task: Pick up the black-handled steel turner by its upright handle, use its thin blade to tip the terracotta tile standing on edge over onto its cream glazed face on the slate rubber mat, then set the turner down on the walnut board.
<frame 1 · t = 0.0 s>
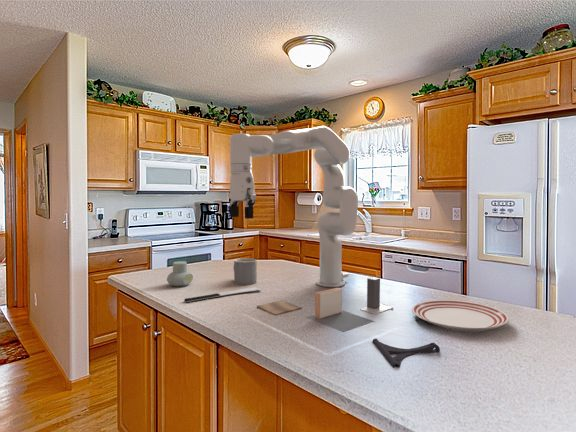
hand: (241, 217, 132), 31 cm above the countertop, tool pointing down, fingers open, 9 cm apart
board: (278, 309, 127), on the countertop
dinner plate: (457, 322, 116), on the countertop
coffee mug: (243, 281, 168), on the countertop
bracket: (410, 356, 93), on the countertop
tile: (328, 314, 120), point 1 cm above the countertop, touching mat
mat: (339, 320, 116), on the countertop
air freshener: (180, 285, 161), on the countertop
turner: (376, 311, 126), on the countertop
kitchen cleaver: (222, 296, 146), on the countertop
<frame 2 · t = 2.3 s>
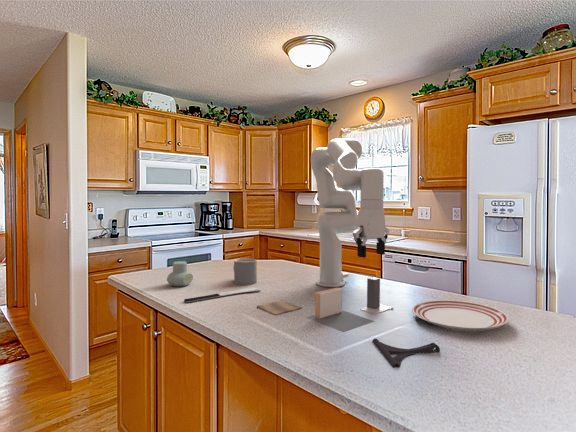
hand: (371, 255, 126), 19 cm above the countertop, tool pointing down, fingers open, 9 cm apart
nothing on the countertop moved.
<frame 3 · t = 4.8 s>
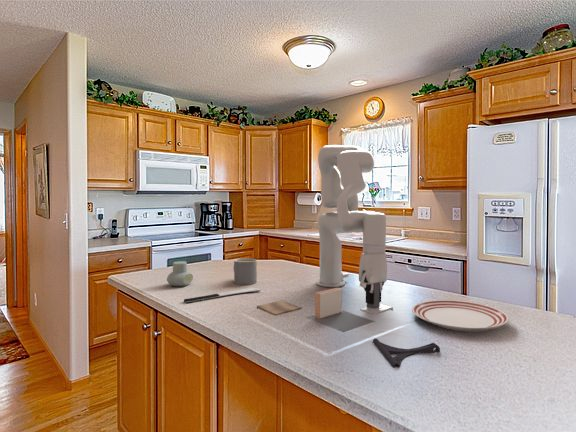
hand: (373, 302, 127), 3 cm above the countertop, tool pointing down, fingers closed on turner, 3 cm apart
turner: (376, 310, 126), on the countertop, touching gripper
everything else where it was.
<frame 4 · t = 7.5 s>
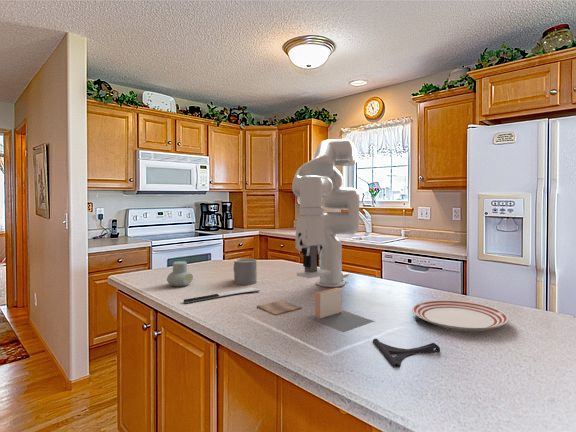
hand: (310, 265, 126), 15 cm above the countertop, tool pointing down, fingers closed on turner, 3 cm apart
turner: (314, 274, 125), point 12 cm above the countertop, touching gripper
everything else where it was.
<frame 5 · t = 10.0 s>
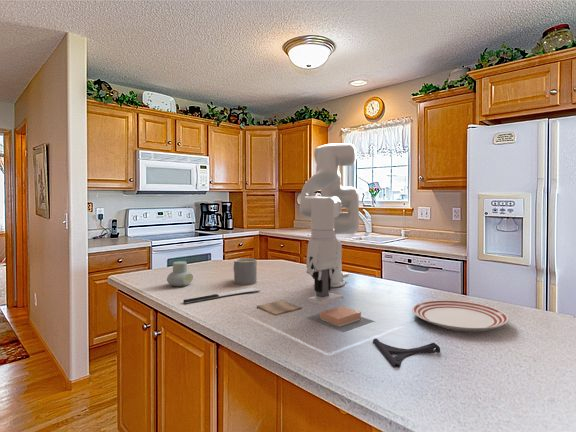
hand: (322, 289, 121), 8 cm above the countertop, tool pointing down, fingers closed on turner, 3 cm apart
tile: (331, 311, 119), point 2 cm above the countertop, tilted 90°, touching mat
turner: (325, 299, 121), point 5 cm above the countertop, touching gripper
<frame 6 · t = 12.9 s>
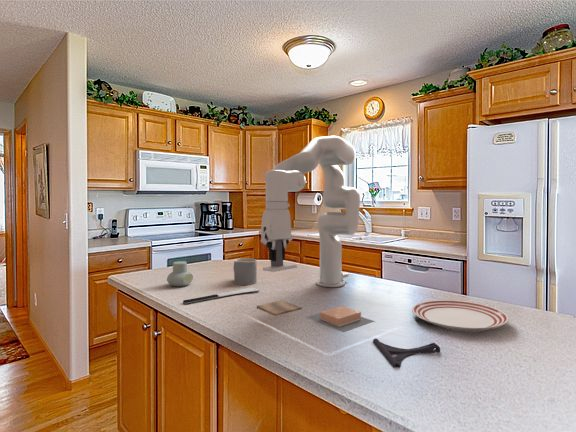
hand: (277, 259, 127), 17 cm above the countertop, tool pointing down, fingers closed on turner, 3 cm apart
turner: (280, 269, 126), point 14 cm above the countertop, tilted 5°, touching gripper
when the fingers open (5 cm above the countertop, at t = 15.5 s): turner stays where it is, resting on board.
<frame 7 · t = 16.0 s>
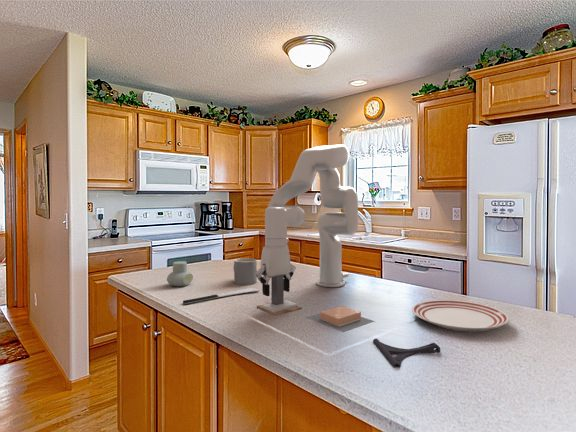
hand: (276, 292, 128), 5 cm above the countertop, tool pointing down, fingers open, 8 cm apart
turner: (280, 307, 127), point 1 cm above the countertop, touching board
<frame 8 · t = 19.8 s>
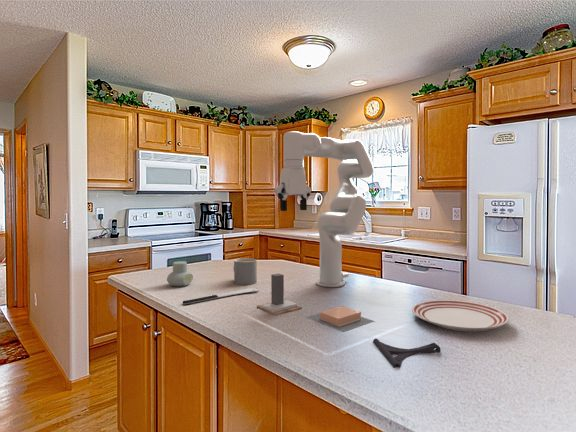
hand: (293, 210, 141), 33 cm above the countertop, tool pointing down, fingers open, 9 cm apart
at the end: tile tilted 90°; tile inside the target area on the mat (3.3 cm from its centre), point 1.9 cm above the mat's base; turner inside the target area on the board (0.8 cm from its centre), point 1.0 cm above the board's base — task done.
